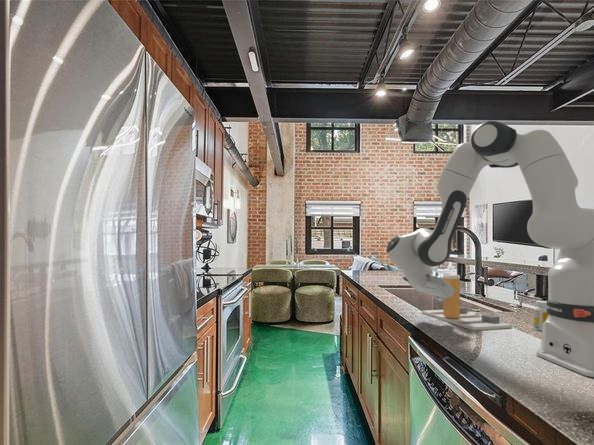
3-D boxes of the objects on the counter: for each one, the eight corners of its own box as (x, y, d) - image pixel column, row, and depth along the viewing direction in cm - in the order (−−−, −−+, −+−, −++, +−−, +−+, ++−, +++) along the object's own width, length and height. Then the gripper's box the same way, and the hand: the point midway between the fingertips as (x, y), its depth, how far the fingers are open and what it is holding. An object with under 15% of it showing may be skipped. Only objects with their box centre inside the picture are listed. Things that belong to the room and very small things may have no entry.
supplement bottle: (531, 329, 120) (531, 301, 121) (537, 327, 124) (536, 299, 124) (550, 333, 116) (550, 303, 117) (555, 330, 120) (555, 301, 120)
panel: (511, 327, 122) (511, 319, 122) (472, 330, 118) (472, 321, 118) (455, 311, 149) (455, 304, 149) (422, 313, 145) (422, 305, 145)
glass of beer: (460, 317, 131) (460, 275, 132) (450, 318, 130) (450, 275, 131) (452, 315, 135) (452, 274, 136) (443, 315, 134) (442, 274, 135)
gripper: (443, 270, 120) (467, 298, 122) (409, 265, 140) (430, 289, 142) (432, 283, 119) (457, 311, 121) (399, 277, 139) (421, 301, 141)
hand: (442, 299), depth 132 cm, fingers closed
